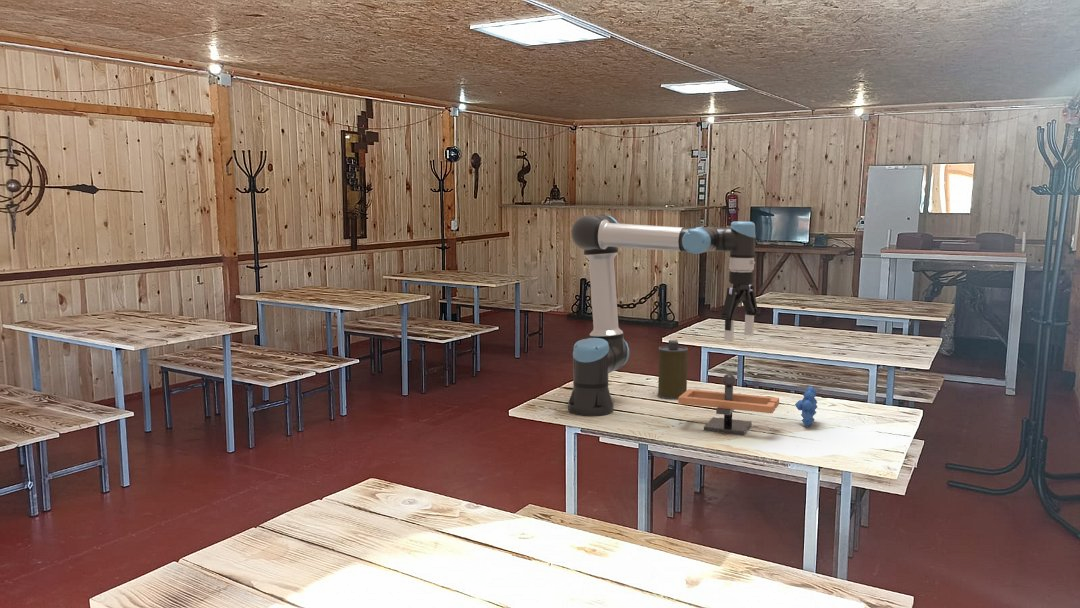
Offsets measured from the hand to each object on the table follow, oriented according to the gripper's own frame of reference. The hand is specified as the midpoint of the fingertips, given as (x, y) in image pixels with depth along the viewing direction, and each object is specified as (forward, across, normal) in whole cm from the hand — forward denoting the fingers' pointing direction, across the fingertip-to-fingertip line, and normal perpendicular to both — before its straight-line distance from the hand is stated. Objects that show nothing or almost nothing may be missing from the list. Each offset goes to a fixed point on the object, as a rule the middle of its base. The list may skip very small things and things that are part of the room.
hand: (738, 338), depth 250 cm
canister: (+26, +12, +31) cm, 43 cm away
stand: (+26, -12, -4) cm, 29 cm away
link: (+18, -12, -4) cm, 22 cm away
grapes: (+26, +7, -20) cm, 33 cm away
